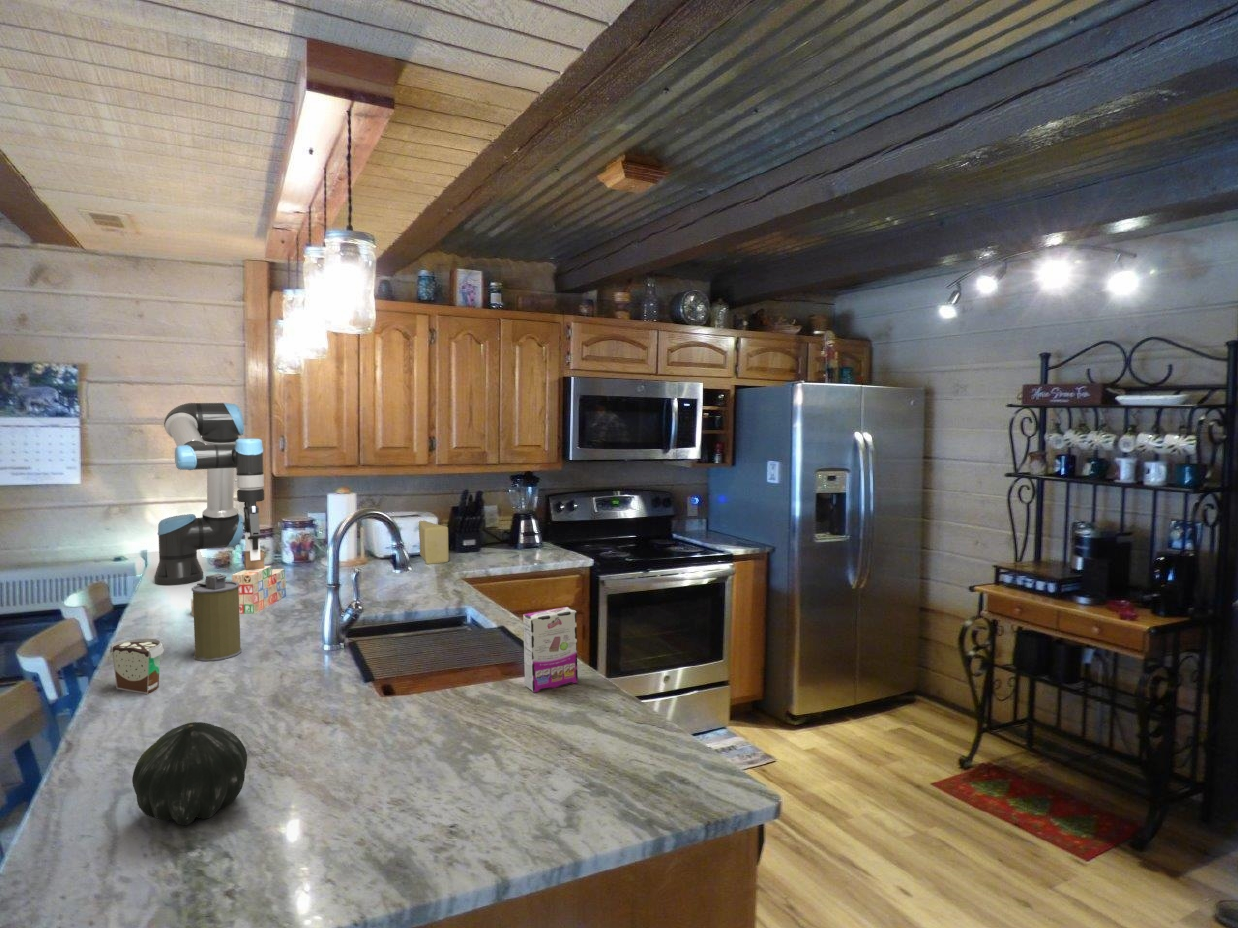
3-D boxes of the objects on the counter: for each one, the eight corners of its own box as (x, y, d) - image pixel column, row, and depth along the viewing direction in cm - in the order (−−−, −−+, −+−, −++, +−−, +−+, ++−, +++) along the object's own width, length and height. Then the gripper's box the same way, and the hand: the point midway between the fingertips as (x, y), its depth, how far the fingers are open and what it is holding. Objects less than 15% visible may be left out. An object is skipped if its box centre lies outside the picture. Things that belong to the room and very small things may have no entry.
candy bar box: (567, 676, 167) (567, 605, 166) (578, 683, 162) (578, 610, 161) (522, 686, 161) (522, 612, 160) (532, 693, 157) (532, 618, 155)
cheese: (410, 555, 310) (409, 520, 309) (432, 553, 315) (432, 519, 314) (425, 564, 291) (425, 527, 290) (449, 562, 296) (448, 525, 295)
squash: (191, 743, 121) (146, 701, 110) (277, 750, 119) (240, 708, 109) (144, 834, 111) (89, 798, 100) (237, 843, 109) (192, 807, 99)
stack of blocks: (267, 596, 241) (266, 559, 240) (286, 596, 241) (285, 559, 240) (233, 614, 219) (231, 573, 218) (254, 614, 219) (252, 573, 218)
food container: (178, 684, 162) (176, 640, 161) (153, 694, 156) (150, 649, 155) (138, 678, 166) (136, 635, 165) (111, 687, 160) (109, 643, 159)
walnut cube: (244, 567, 228) (243, 551, 228) (262, 565, 231) (261, 549, 231) (246, 569, 224) (245, 553, 224) (264, 568, 227) (263, 552, 226)
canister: (251, 651, 185) (248, 573, 183) (213, 663, 175) (209, 581, 174) (222, 645, 189) (219, 569, 188) (183, 657, 180) (180, 577, 178)
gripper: (233, 485, 234) (235, 551, 235) (240, 492, 213) (243, 564, 214) (259, 484, 238) (261, 548, 239) (269, 491, 217) (271, 561, 218)
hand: (252, 556), depth 227 cm, fingers open, 13 cm apart
